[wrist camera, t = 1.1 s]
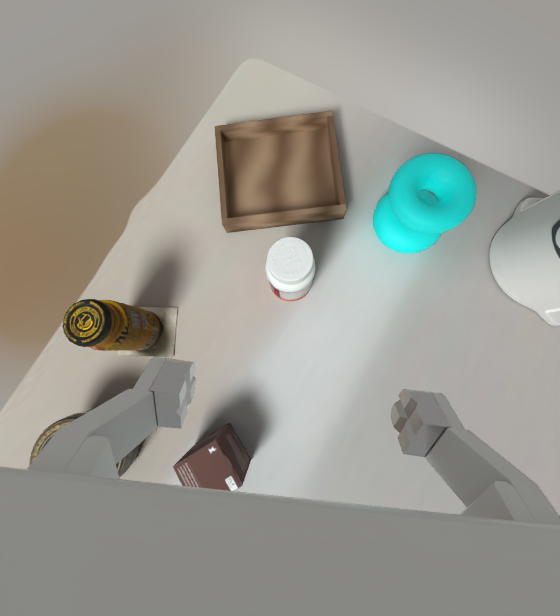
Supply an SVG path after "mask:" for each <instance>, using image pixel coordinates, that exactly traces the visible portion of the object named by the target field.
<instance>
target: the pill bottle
mask: <svg viewBox="0 0 560 616" xmlns="http://www.w3.org/2000/svg"><path fill="white" fill-rule="evenodd" d="M265 270H266V275H267V278H268V281H269V283H270V286H271V289H272V291H273V293H274V294H275V295H276V296H277V297H278V298H280V299H281V300H284V301H288V302H294V301H298V300H300V299H302V298H303V297H305V296H306V295H307V293H308V292H309V290H310V288H311V285H312V281H313V278H314V275H315V261H314V258H313V253H312V250H311V248H310V247H309V245H308V244H307V243H306V242H304V241H303V240H301V239H299V238H295V237H286V238H282V239H280V240H278V241H277V242H275V243H274V244H273V245H272V247H271V248H270V250H269V252H268V257H267V260H266V265H265Z"/></svg>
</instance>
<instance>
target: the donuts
mask: <svg viewBox="0 0 560 616" xmlns="http://www.w3.org/2000/svg"><path fill="white" fill-rule="evenodd" d="M426 190H428V191H431V192H432V193H434V194H435V196H436V197H437V198H436V197H435V196H434V195H433V194H431V193H430V192H428V191H426ZM475 200H476V185H475V181H474V179H473V176H472V175H471V173H470V171H469V170H468V169H467V168H466V167H465V166H464V165H463V164H462V163H461V162H459V161H458V160H456V159H455V158H452V157H450V156H447V155H444V154H437V153H429V154H423V155H419V156H417V157H414V158H412V159H410V160H409V161H407V162H406V163H404V164H403V165H402V166H401V167H400V168H399V169H398V170H397V172H396V173H395V175H394V177H393V178H392V181H391V184H390V188H389V193H387V194H386V195H385V196H384V197H383V198H382V199H381V200H380V201H379V203H378V204H377V206H376V209H375V211H374V216H373V225H374V229H375V232H376V234H377V236H378V238H379V239H380V240H381V242H382V243H383V244H384V245H386V246H387V247H388V248H390V249H392V250H394V251H397V252H400V253H417V252H420V251H423V250H425V249H427V248H429V247H430V246H432V245H433V244H434V243H435V242H436V241H437V240H438V239H439V237H440V236H441V234H442V232H446V231H449V230H451V229H453V228H455V227H457V226H458V225H459V224H461V223H462V222H463V221H464V220H465V219H466V218H467V217H468V215H469V214H470V213H471V211H472V209H473V207H474V204H475Z"/></svg>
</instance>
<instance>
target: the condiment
mask: <svg viewBox="0 0 560 616" xmlns="http://www.w3.org/2000/svg"><path fill="white" fill-rule="evenodd" d="M161 319H162V321H161ZM176 320H177V308H174V307H133V306H129V305H126V304H124V303H119V302H115V301H111V300H101V301H99V300H95V299H87V300H81V301H79V302H77V303H74V304H73V305H72V306H71V307H70V308H69V310H68V311H67V312H66V314H65V317H64V322H63V329H64V333H65V335H66V337H67V338H68V339H69V341H70V342H72V343H74V344H76V345H78V346H83V347H90V348H92V349H96V350H105V351H106V350H116V351H117V350H118V353H117V355H128V356H163V357H173V353H174V344H175V334H176ZM163 321H164V322H163ZM154 347H155V348H154Z"/></svg>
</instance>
